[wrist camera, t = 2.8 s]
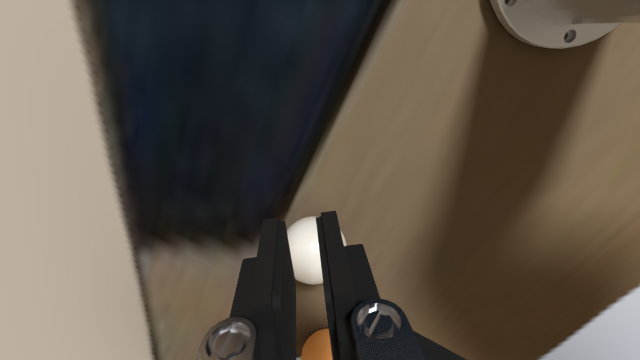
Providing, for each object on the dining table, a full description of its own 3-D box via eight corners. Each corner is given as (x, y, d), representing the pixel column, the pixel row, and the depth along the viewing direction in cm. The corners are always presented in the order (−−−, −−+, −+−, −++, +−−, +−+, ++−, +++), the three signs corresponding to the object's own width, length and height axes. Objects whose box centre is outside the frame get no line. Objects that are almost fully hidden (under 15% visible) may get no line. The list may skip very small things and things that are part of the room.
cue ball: (277, 208, 28) (273, 247, 23) (339, 200, 28) (350, 237, 23) (286, 258, 30) (284, 303, 25) (343, 251, 30) (353, 294, 25)
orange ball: (297, 320, 34) (298, 370, 29) (349, 313, 34) (358, 362, 29) (303, 354, 36) (305, 407, 31) (351, 348, 36) (361, 399, 31)
